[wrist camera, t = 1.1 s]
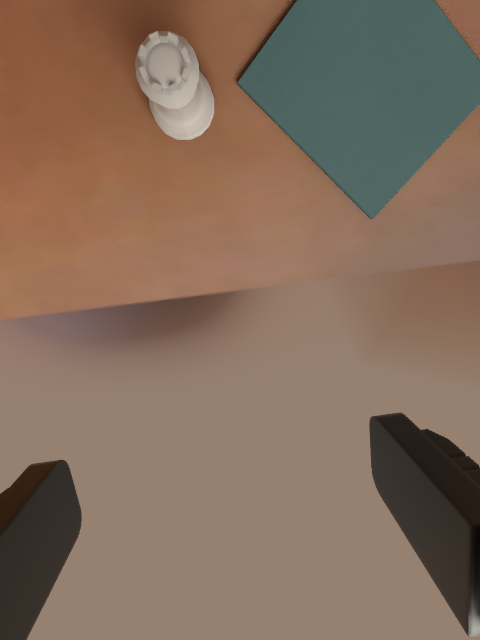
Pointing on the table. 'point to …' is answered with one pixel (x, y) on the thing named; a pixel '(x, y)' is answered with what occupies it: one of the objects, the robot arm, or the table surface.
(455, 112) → the felt mat
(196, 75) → the rook chess piece
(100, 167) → the table surface
